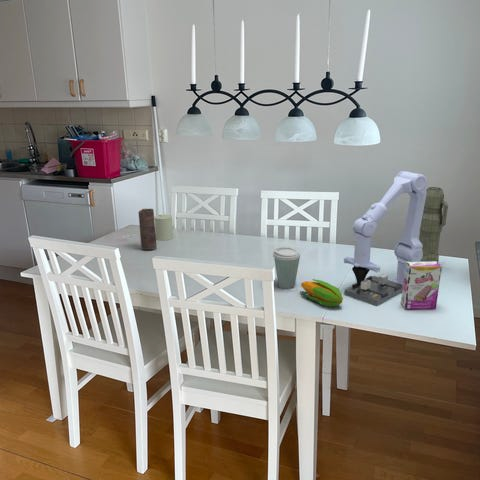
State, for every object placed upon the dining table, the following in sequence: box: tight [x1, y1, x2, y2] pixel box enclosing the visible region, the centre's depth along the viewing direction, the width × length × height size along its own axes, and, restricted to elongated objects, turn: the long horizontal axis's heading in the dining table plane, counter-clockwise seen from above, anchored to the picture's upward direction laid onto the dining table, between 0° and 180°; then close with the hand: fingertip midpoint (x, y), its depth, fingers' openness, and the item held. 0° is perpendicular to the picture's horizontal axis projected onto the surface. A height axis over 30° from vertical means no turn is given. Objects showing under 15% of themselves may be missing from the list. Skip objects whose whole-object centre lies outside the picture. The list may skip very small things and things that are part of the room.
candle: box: [138, 208, 157, 250], centre depth 234 cm, size 8×7×20 cm
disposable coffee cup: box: [272, 246, 301, 290], centre depth 188 cm, size 11×11×15 cm
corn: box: [300, 278, 344, 308], centre depth 176 cm, size 7×8×20 cm
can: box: [154, 213, 174, 241], centre depth 252 cm, size 9×9×12 cm
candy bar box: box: [400, 261, 443, 311], centre depth 168 cm, size 11×5×16 cm, turn 92°
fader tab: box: [361, 278, 371, 290], centre depth 181 cm, size 3×2×3 cm
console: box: [343, 275, 403, 307], centre depth 183 cm, size 20×14×3 cm
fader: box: [378, 273, 389, 285], centre depth 185 cm, size 3×2×3 cm
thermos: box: [418, 186, 449, 263], centre depth 200 cm, size 9×12×35 cm
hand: (360, 285), depth 183 cm, fingers closed
